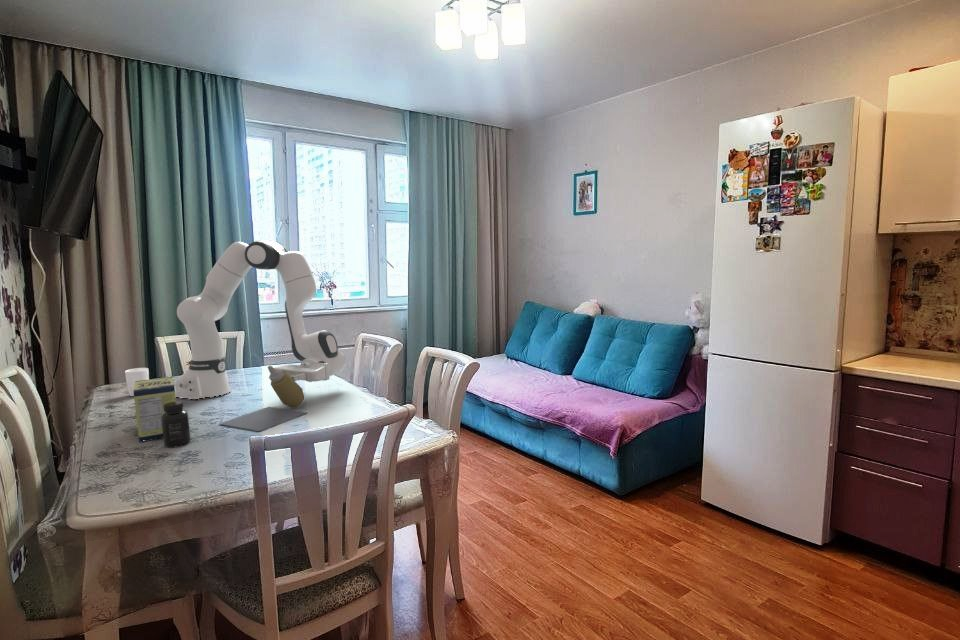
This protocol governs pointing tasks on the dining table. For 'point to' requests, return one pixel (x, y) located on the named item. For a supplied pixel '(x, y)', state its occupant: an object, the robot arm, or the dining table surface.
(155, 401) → the protein box
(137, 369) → the white cup
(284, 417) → the mat
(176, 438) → the supplement bottle
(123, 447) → the dining table surface
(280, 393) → the squeeze bottle
